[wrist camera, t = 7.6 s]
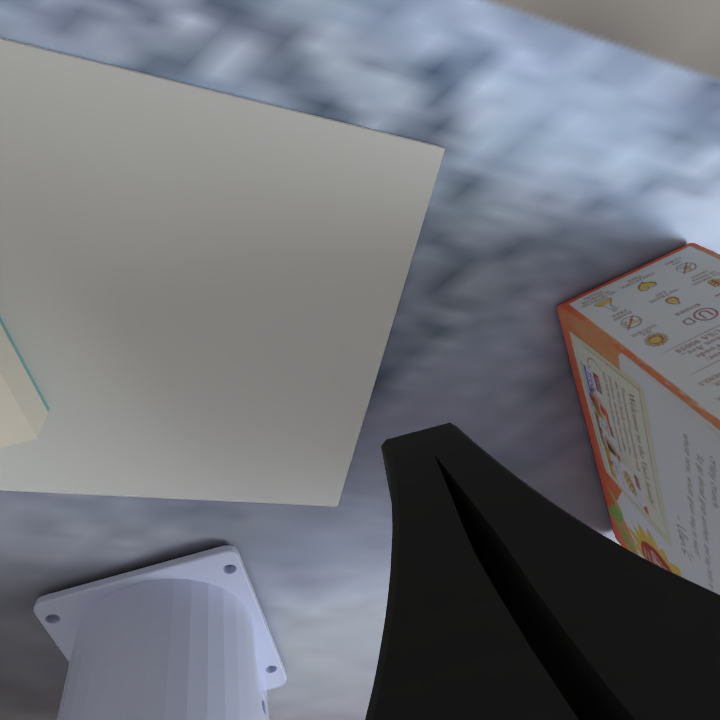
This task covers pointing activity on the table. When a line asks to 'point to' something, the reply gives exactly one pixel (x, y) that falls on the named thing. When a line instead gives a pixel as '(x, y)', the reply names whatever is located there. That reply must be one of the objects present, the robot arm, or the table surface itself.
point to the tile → (18, 396)
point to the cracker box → (655, 406)
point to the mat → (195, 281)
